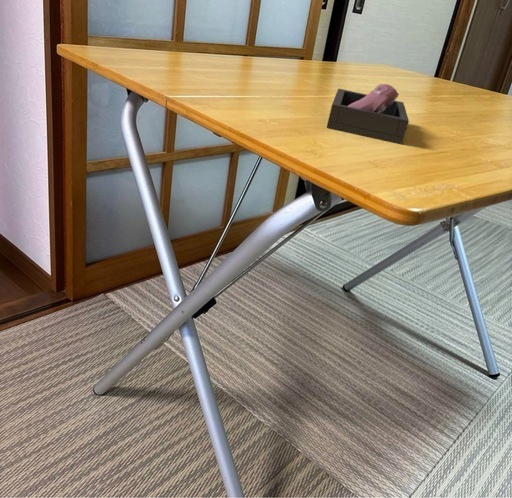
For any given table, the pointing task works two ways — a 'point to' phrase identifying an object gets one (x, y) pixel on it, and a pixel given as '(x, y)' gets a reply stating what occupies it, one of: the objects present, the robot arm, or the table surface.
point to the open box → (368, 118)
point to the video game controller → (377, 99)
